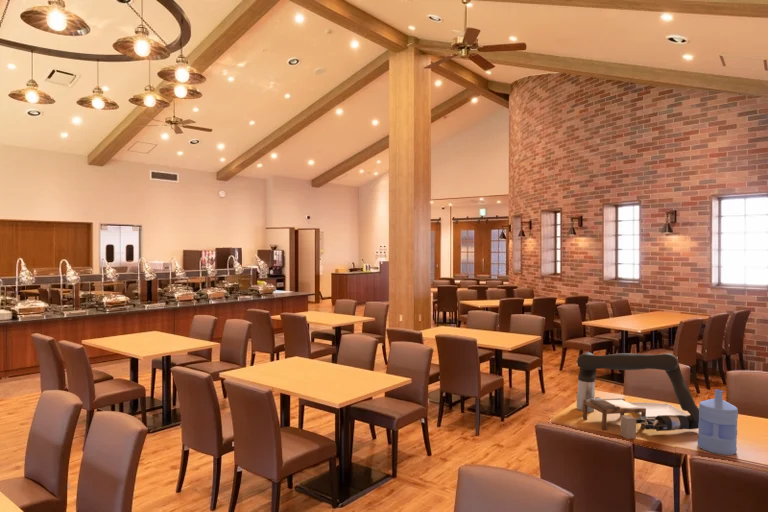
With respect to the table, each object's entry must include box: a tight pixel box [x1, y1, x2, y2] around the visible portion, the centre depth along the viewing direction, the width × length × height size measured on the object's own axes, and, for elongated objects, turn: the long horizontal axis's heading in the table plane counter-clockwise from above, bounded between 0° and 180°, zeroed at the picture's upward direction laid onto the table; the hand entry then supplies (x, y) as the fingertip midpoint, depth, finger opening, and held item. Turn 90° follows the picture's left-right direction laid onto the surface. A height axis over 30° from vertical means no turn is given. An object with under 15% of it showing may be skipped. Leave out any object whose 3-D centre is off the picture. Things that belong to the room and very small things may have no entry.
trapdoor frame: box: [582, 396, 646, 431], centre depth 282 cm, size 24×19×12 cm
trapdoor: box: [591, 397, 639, 409], centre depth 282 cm, size 20×14×4 cm
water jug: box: [697, 389, 739, 456], centre depth 248 cm, size 16×16×28 cm
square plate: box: [627, 401, 689, 419], centre depth 299 cm, size 27×27×4 cm
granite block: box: [619, 414, 637, 440], centre depth 262 cm, size 5×5×10 cm
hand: (639, 424), depth 264 cm, fingers open, 8 cm apart
